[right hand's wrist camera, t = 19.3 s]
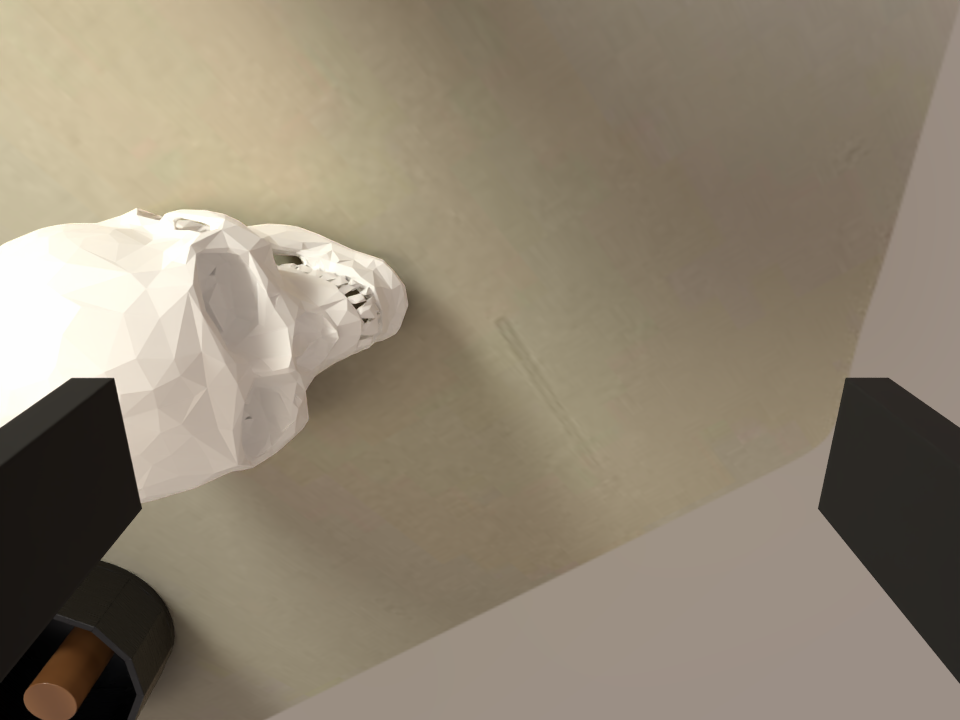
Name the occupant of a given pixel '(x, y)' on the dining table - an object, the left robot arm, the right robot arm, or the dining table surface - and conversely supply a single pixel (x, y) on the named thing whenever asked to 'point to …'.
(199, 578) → the dining table surface
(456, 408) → the dining table surface
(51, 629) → the saucepan
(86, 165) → the dining table surface
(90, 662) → the brown wooden cylinder
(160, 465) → the skull
